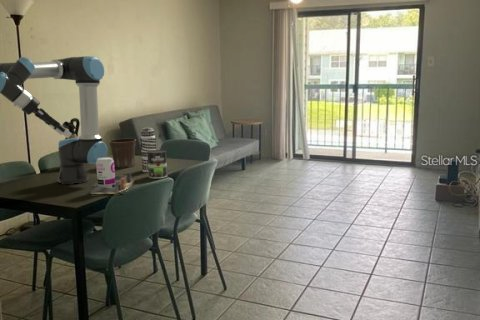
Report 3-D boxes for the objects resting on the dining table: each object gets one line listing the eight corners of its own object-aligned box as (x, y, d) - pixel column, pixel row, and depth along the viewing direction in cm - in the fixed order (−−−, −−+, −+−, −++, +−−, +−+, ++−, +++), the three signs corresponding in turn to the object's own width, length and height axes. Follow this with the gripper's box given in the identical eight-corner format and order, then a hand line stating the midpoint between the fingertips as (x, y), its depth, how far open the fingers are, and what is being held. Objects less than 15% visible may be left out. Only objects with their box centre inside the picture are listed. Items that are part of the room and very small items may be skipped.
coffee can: (168, 177, 257) (167, 152, 254) (149, 179, 254) (147, 153, 251) (166, 174, 266) (165, 149, 264) (147, 175, 264) (146, 150, 261)
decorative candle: (146, 173, 270) (143, 129, 266) (139, 170, 278) (136, 127, 273) (160, 170, 276) (158, 127, 271) (153, 168, 283) (151, 126, 278)
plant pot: (131, 169, 283) (130, 142, 280) (106, 168, 285) (104, 142, 282) (141, 163, 298) (140, 138, 296) (117, 163, 301) (115, 138, 298)
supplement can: (117, 186, 234) (115, 156, 231) (113, 190, 226) (111, 159, 223) (100, 187, 234) (98, 157, 231) (96, 191, 226) (93, 160, 223)
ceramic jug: (74, 170, 283) (69, 120, 278) (55, 168, 290) (50, 119, 284) (94, 164, 298) (90, 117, 293) (75, 163, 305) (71, 116, 299)
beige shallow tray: (89, 195, 224) (88, 182, 222) (104, 182, 250) (103, 170, 249) (124, 194, 224) (123, 181, 223) (134, 181, 251) (133, 169, 249)
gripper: (16, 107, 213) (55, 137, 223) (25, 111, 192) (67, 144, 202) (28, 95, 214) (65, 125, 225) (37, 97, 194) (78, 130, 204)
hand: (66, 134), depth 214 cm, fingers open, 13 cm apart
